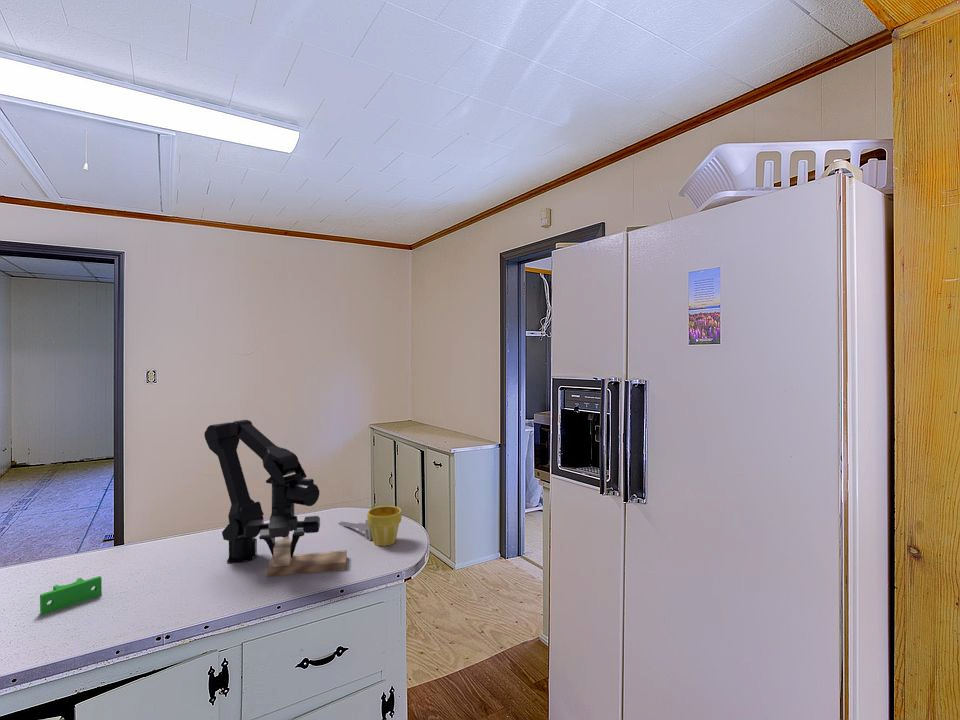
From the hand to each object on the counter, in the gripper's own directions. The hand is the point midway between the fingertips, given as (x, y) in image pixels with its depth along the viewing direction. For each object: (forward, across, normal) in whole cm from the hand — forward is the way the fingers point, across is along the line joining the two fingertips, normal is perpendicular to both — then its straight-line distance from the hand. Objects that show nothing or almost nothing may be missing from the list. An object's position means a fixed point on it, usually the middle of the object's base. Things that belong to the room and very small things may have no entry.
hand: (283, 557), depth 134 cm
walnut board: (+3, +6, 0) cm, 7 cm away
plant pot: (+3, +28, +13) cm, 31 cm away
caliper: (+4, +18, +24) cm, 31 cm away
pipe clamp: (+3, -46, -8) cm, 46 cm away
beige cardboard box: (+1, 0, +2) cm, 2 cm away
